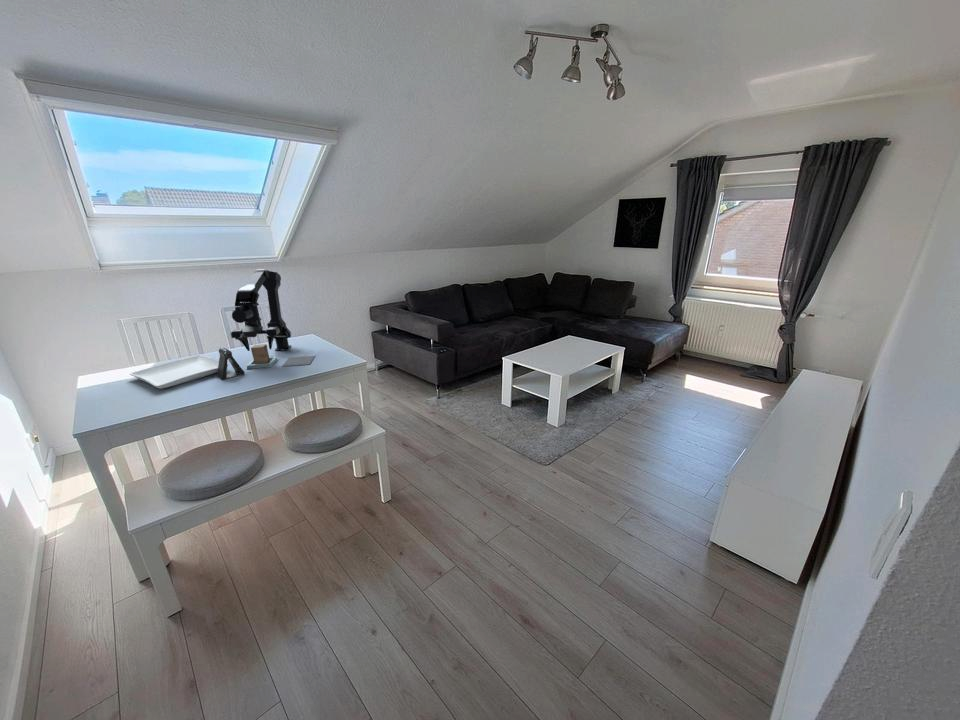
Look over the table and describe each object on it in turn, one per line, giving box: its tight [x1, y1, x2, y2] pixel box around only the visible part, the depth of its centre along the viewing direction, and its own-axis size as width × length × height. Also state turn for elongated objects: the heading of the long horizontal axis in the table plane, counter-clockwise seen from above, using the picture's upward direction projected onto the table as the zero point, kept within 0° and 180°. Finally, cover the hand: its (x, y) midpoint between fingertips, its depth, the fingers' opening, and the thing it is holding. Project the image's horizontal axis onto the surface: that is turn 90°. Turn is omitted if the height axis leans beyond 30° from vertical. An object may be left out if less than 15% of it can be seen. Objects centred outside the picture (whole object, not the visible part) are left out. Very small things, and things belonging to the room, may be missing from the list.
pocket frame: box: [246, 356, 278, 370], centre depth 173 cm, size 10×10×2 cm
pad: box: [281, 355, 316, 368], centre depth 177 cm, size 12×12×1 cm
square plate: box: [129, 354, 230, 390], centre depth 161 cm, size 27×27×4 cm
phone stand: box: [216, 347, 246, 381], centre depth 159 cm, size 9×6×12 cm, turn 141°
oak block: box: [250, 343, 270, 364], centre depth 172 cm, size 5×5×9 cm
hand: (259, 350), depth 171 cm, fingers open, 9 cm apart
